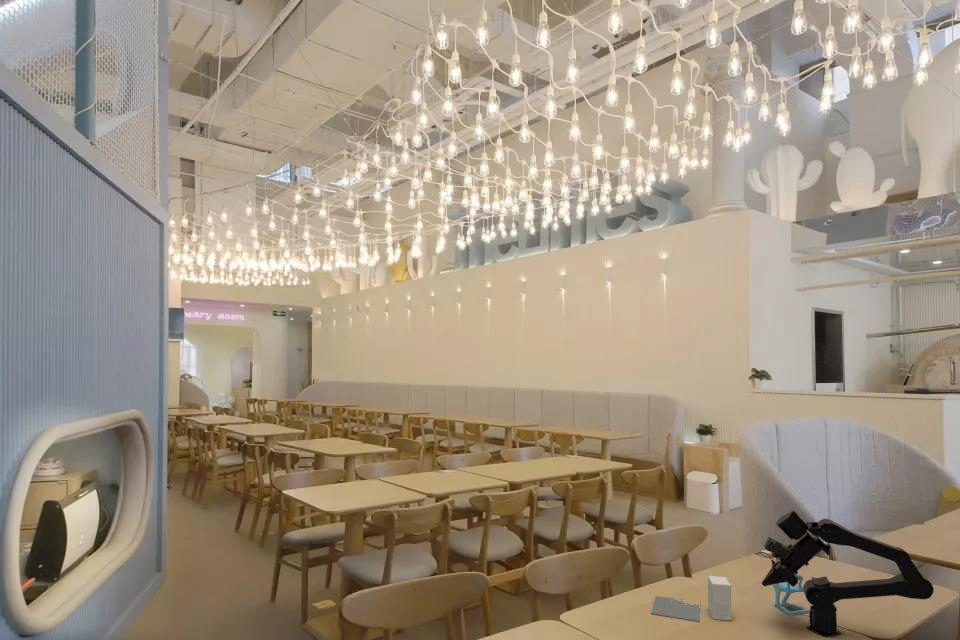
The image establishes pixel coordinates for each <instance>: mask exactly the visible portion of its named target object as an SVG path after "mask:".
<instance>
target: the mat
mask: <svg viewBox="0 0 960 640" xmlns="http://www.w3.org/2000/svg"><path fill="white" fill-rule="evenodd" d="M674 599H675V598H674V597H673V598H672V597H665V596H659V595H655V598H654V602H653V605H652V608H651V613H650V615H655V616H660V617H664V618H665V617H666V618H673V619H677V620H678V619H679V620H683V621H684V620H685V621H690V622H697V623H698V622H700V615H701V607H700V608H699V605H696V604H694V605H691V604H688V603H684V602H682V601H678V600H674ZM671 601H672V602H671ZM685 604H687V605H685Z"/></svg>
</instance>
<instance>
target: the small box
mask: <svg viewBox="0 0 960 640" xmlns="http://www.w3.org/2000/svg"><path fill="white" fill-rule="evenodd" d="M707 604H708V605H707V610H708V609H709V610H708V612H709V614H710V616H711V618H712V620H717V621H718V620H720V621H732V585H731V583H730V581H729V580H728V578H727V577H726V576H714V575H708V576H707Z"/></svg>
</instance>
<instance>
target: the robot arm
mask: <svg viewBox="0 0 960 640" xmlns="http://www.w3.org/2000/svg"><path fill="white" fill-rule="evenodd" d="M775 525H776V526H777V528H779V529H780V531H782V532H783V533H784V534H785V535H786V536H787V538H789V539H790V540H794V541H797V542H795V543H794V544H791V543H790V544H788V545H785V544H784V543H782V542H780V541H778V540H776V539H774V538H772V537H770V536H768V537H767V539H766V541H765V543H764V545H763V547H764V550H766V551H768V552H771V553H770V554H771V557H774V558H775V560H774V559H771V562H770V563H771V568H770V569H769V571H768V572H767V573H766V575H765V577H764V579H763V580H762V581H761V585H762V586H763V587H767V586H773V584H778V583H779V584H780V583H786V582H788V583H789V584H790V585H791V586H792V587H794V586H795V585H796V586H797V585H798V584H799V580H798V578H797V575H796V574H797V573H799V572H798V571H799V570H801V569H802V568H803V567H804V566H806V567H808V566H809V565H810V563H809V562H810V561H811V560H813V559H814V558H815V557H816V556H818V554H820V553H821V552H822V551H823V552H824V553H825V554H826V555H827V556H831V545H830V544H832V545H837V546H848V547H852V548H855V549H858V550H859V551H860V550H861V551H863V552H866V553H869V554H872V555H875V556H878V557H880V558H884V559H886V560H889V561H891V562H894V563H895V564H896V566H897V568H898V570H899V571H900V573H899V574H896V575H894V576H892V577H890V578H882V579H881V578H880V579H870V580H857V581H856V580H855V581H844V582H832V581H830V580H829V579H828V577H827V576H821V577H814V576H811V579H808V580H806V581H805V582H804V584H803V586H802V588H803V591H804V592H803V593H804V595H805V598H806V601H807V602H808V603H809V604H810V606H809V609H810V610H808V613H809V614H808V615H809V625H806V629H808V630H810V631H812V632H814V633H816V634H819V635H821V636H823V637H831V636H836V635H841V634H842V631H841V630H840V631H839V630H838V629H837V627H838V622H837V611H838V609H837V607H836V605H835V603H837V602H839V601H843V600H854V599H865V598H878V597H891V596H898V597H902V598H906V599H908V598H909V599H911V600H912V599H915V600H928V599H930V598H932V595H934V586H933V584H932V582H930V580H929V579H927V577H925V576H924V575H923V574H922V573H921V572H920V570H919V569H918V568H917V566H916V565H915V564H914V562H913V560H912V559H911V557H910V555H909V553H908V552H907V551H906V550H905V549H904V548H902V547H899V546H894V545H891V544H888V543H885V542H883V541H880V540H876V539H874V538H871V537H868V536H865V535H862V534H860V533H858V532H854V531H851V530H850V529H848V528H846V527H844V526H843V525H842V524H839V523H837V522H836V521H833V520H832V519H829V518H823V519H820V520H819V521H811V522H806V521H804V520H803V518H801V517H800V515H799V514H798V513H797V512H796V510H794V509H793V510H791V511H790V512H788V513H786V514H783V515H782V516H781V517H780V518H778V520H777V521H776V523H775Z"/></svg>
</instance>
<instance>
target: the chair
mask: <svg viewBox="0 0 960 640" xmlns="http://www.w3.org/2000/svg"><path fill="white" fill-rule="evenodd" d="M796 575H797V578H798V584H796V585H795V586H794V587H792V586H791V585H790V584H789V583H788V582H784V583H778V584H773V585H772V588H774V592H775V598H774V599H775V602H774V603H775V606H776V607H778V609H780V610H781V611H782V612H784V613H785V614H786V615H788V616H790V615H791V616H798V615H806V614H808V613H809V609H807V608H805V607H802V606H799V605H795V604H791V603H789V602H787V601H788V599H789V598H790V596H791V595H792V594H793V593H804V591H803V586H802V584H803V583H802V582H803V580H804V577H803V576H802V575H801V574H800V573H799V572H798V573H797V574H796ZM797 585H798V586H797ZM781 593H785V595H784V597H783V598H782V599H780V598H781V597H780V595H781ZM780 600H781V603H780ZM786 607H787V608H790V609H793V610H791V611H790V610H789V609H787V608H786Z"/></svg>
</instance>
